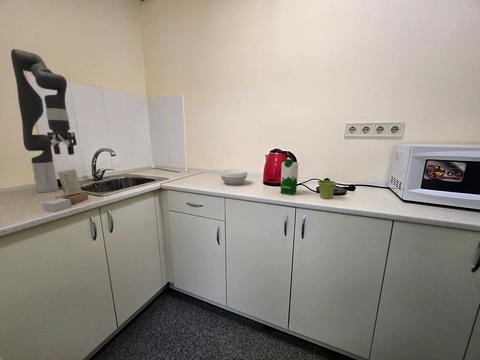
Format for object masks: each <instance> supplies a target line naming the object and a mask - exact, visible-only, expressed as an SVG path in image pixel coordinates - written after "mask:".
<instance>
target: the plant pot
mask: <svg viewBox="0 0 480 360" xmlns="http://www.w3.org/2000/svg"><path fill="white" fill-rule="evenodd" d="M317 183H318V187H319V197H320V198H321V199H328V200H331V199H333V196H334V191H335V187H336V186H337V184H338V182H337V181H333V180H327V179H326V180H325V179H324V180H318V181H317Z"/></svg>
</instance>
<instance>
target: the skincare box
mask: <svg viewBox="0 0 480 360" xmlns="http://www.w3.org/2000/svg"><path fill="white" fill-rule="evenodd" d="M57 175H58V177H59V178H58V179H59V181H60V184H61V188H62V192H63V195H66V196H69V195H73V194H78V193H83V191H82V189H81V185H80V181H79V178H78V174H77V171H76V169H74V168H73V169H68V170H66V169H65V170H62V171H61V170H60V171H57Z"/></svg>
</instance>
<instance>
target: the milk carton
mask: <svg viewBox="0 0 480 360" xmlns="http://www.w3.org/2000/svg"><path fill="white" fill-rule="evenodd" d="M280 171H281V175H280V176H281V177H280V194H282V195H289V196H294V195H296V193H297V187H298V175H299V162H297V161H296V162H295V161H294V159H292V158H286V159H285V161H284V162H281V170H280Z"/></svg>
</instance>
